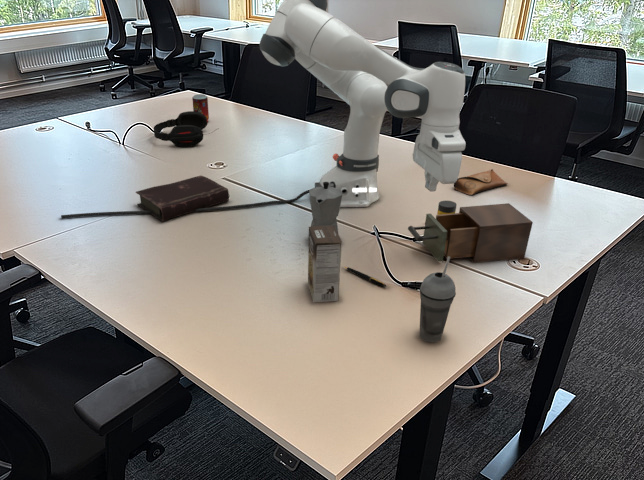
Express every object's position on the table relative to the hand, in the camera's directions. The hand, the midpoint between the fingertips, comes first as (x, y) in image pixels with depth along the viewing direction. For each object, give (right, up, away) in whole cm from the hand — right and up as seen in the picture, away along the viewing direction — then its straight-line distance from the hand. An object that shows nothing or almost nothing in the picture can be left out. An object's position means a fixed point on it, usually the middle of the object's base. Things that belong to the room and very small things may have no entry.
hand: (430, 189), depth 149 cm
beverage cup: (-6, -36, -21) cm, 42 cm away
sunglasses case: (+32, +10, +51) cm, 61 cm away
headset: (-74, +42, +107) cm, 136 cm away
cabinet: (+19, -14, +12) cm, 27 cm away
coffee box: (-28, -26, -4) cm, 39 cm away
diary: (-69, +4, +46) cm, 83 cm away
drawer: (+7, -15, +10) cm, 19 cm away
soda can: (-70, +56, +129) cm, 157 cm away
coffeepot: (-24, -11, +20) cm, 33 cm away
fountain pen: (-17, -23, +1) cm, 28 cm away
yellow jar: (+12, -6, +26) cm, 29 cm away
